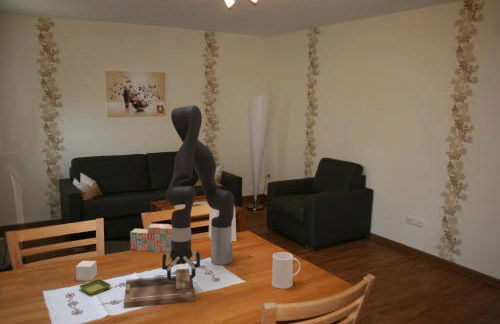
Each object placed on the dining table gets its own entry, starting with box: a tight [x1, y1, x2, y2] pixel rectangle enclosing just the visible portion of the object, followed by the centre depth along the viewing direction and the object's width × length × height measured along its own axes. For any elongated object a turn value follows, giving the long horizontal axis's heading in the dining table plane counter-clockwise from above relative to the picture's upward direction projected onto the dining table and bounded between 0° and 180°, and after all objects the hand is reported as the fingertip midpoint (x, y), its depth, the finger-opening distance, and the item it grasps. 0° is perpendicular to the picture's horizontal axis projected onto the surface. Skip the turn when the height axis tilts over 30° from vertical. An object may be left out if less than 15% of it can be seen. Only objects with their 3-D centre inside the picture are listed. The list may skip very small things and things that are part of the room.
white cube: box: [75, 260, 98, 282], centre depth 164 cm, size 6×6×6 cm
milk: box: [208, 206, 237, 242], centre depth 211 cm, size 12×12×26 cm
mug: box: [271, 251, 301, 290], centre depth 160 cm, size 12×8×12 cm
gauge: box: [175, 268, 191, 294], centre depth 150 cm, size 5×9×6 cm, turn 13°
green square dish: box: [78, 278, 112, 295], centre depth 154 cm, size 9×9×2 cm
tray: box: [123, 274, 196, 309], centre depth 149 cm, size 25×13×4 cm, turn 103°
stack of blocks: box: [129, 223, 172, 253], centre depth 196 cm, size 21×6×12 cm, turn 83°
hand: (181, 278), depth 153 cm, fingers open, 8 cm apart
